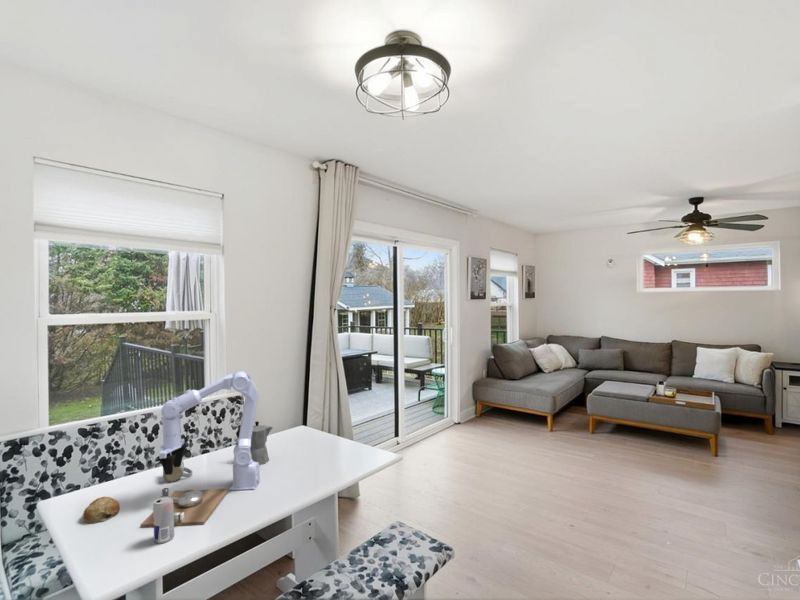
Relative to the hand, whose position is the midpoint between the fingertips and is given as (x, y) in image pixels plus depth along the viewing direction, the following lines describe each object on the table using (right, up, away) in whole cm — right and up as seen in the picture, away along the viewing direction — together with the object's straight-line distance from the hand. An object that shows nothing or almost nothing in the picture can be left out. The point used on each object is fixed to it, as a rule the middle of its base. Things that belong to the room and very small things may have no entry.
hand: (173, 470), depth 153 cm
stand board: (+9, -10, -7) cm, 15 cm away
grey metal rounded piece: (+6, -9, -6) cm, 12 cm away
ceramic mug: (-8, -11, +18) cm, 22 cm away
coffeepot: (+19, -10, +32) cm, 39 cm away
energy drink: (+11, -11, -25) cm, 30 cm away
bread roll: (-19, -11, -11) cm, 24 cm away
